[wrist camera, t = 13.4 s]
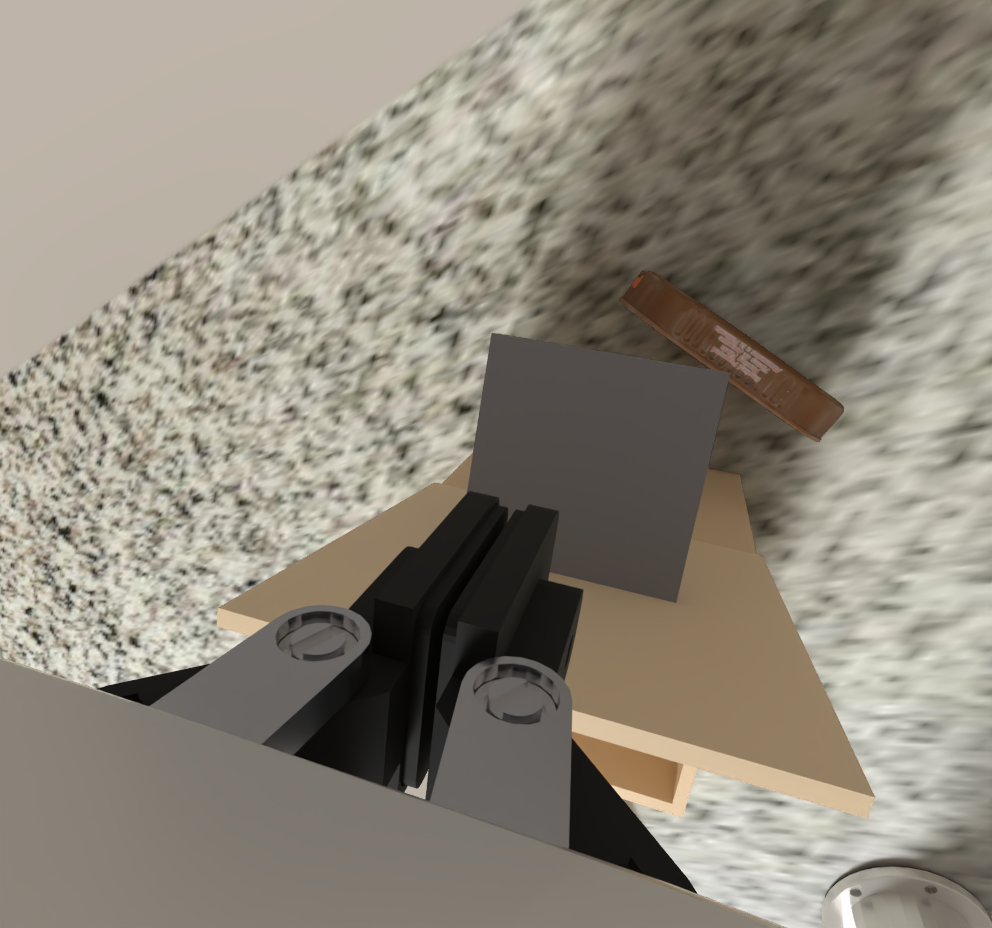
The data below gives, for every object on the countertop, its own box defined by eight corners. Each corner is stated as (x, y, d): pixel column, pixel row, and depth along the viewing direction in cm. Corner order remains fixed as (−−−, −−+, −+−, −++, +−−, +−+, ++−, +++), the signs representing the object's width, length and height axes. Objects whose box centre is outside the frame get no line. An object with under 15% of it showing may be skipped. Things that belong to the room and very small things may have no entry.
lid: (868, 818, 16) (996, 426, 14) (216, 626, 19) (241, 297, 17) (758, 566, 34) (807, 382, 32) (433, 492, 38) (457, 323, 36)
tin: (622, 297, 45) (608, 310, 37) (650, 257, 44) (642, 262, 36) (802, 425, 45) (825, 465, 37) (836, 388, 43) (867, 422, 36)
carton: (684, 677, 53) (682, 817, 40) (474, 621, 57) (412, 733, 44) (739, 474, 47) (758, 564, 34) (498, 426, 50) (434, 491, 38)
